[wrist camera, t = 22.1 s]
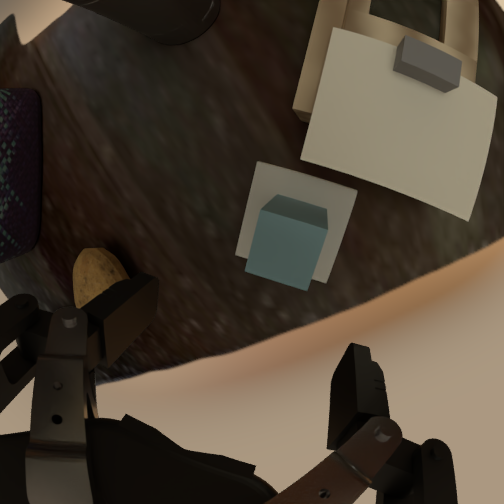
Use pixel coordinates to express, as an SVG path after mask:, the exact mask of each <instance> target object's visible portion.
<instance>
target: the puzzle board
mask: <svg viewBox="0 0 504 504" xmlns="http://www.w3.org/2000/svg"><path fill="white" fill-rule="evenodd" d="M370 3H371V0H320V1H319V5H318V9H317V13H316V17H315V21H314V25H313V29H312V33H311V37H310V40H309V44H308V48H307V52H306V56H305V60H304V64H303V68H302V72H301V76H300V80H299V84H298V88H297V92H296V96H295V100H294V104H293V108H292V109H293V110H294V112H295V113H296V114H297V116H298V117H299V119H300V120H301V121H303V122H307V123H310V120H311V116H312V112H313V108H314V104H315V100H316V96H317V92H318V88H319V84H320V80H321V76H322V72H323V68H324V64H325V60H326V55H327V51H328V47H329V43H330V39H331V34H332V30H333V27H335V28H339V29H343V30H347V31H350V32H354V33H358V34H361V35H364V36H367V37H371V38H374V39H377V40H380V41H383V42H386V43H388V44H391V45H394V46H398V45H399V43H400V42H401V41H402V39H403V38H404V36H405V35H407V36H410V37H412V38H415V39H417V40H419V41H422V42H424V43H426V44H428V45H431V46H433V47H435V48H437V49H439V50H441V51H443V52H445V53H447V54H449V55H451V56H453V57H455V58H457V59H459V60H461V61H462V67H461V76H462V77H464V78H466V79H468V80H470V81H471V82H473V83H475V78H476V68H477V55H478V35H479V8H478V0H442V7H441V23H440V34H439V41H437V40H435V39H433V38H431V37H428V36H426V35H424V34H421V33H419V32H417V31H414V30H412V29H409V28H407V27H404V26H402V25H399V24H396V23H394V22H391V21H388V20H385V19H382V18H379V17H376V16H373V15H370V14H369V9H370Z"/></svg>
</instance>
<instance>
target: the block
mask: <svg viewBox="0 0 504 504" xmlns="http://www.w3.org/2000/svg"><path fill="white" fill-rule="evenodd" d="M327 232H328V218H327V209H326V208H322V207H319V206H316V205H313V204H310V203H306V202H303V201H300V200H296V199H293V198H290V197H286V196H283V195H279V194H277V195H276V196H274V197H273V198H272V199H271V200H270V201H269V202H268V203H267V204H266V205H265V206H263V207H262V208H261V209H260V213H259V217H258V221H257V225H256V228H255V232H254V236H253V240H252V244H251V248H250V252H249V256H248V260H247V264H246V268H245V272H248V273H252V274H255V275H258V276H261V277H264V278H267V279H270V280H273V281H277V282H280V283H283V284H286V285H289V286H292V287H296V288H299V289H302V290H305V291H307V290H308V287H309V285H310V282H311V279H312V276H313V273H314V270H315V268H316V265H317V262H318V259H319V256H320V253H321V250H322V247H323V244H324V241H325V238H326V235H327Z"/></svg>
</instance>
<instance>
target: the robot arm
mask: <svg viewBox="0 0 504 504" xmlns="http://www.w3.org/2000/svg"><path fill="white" fill-rule="evenodd" d="M63 1H66V2H69V3H72V4H75V5H78V6H80V7H83V8H86V9H88V10H91V11H93V12H95V13H97V14H99V15H102V16H104V17H107V18H109V19H111V20H113V21H116V22H118V23H120V24H122V25H125V26H127V27H129V28H131V29H133V30H135V31H137V32H139V33H141V34H143V35H146V36H148V37H150V38H152V39H154V40H156V41H158V42H160V43H162V44H166V45H177V44H182V43H185V42H188V41H191V40H192V39H194V38H196V37H198V36H199V35H201V34H202V33H203V32H205V31H206V30H207V29H208V28H209V27H210V26H211V25H212V23H213V22H214V20H215V19H216V17H217V15H218V12H219V8H220V0H63ZM158 288H159V280H158V278H156V277H154V276H151V275H149V274H146V273H144V272H140V273H138V274H137V275H136V276H134V277H133V278H132V279H124V280H121V281H118V282H116V283H114V284H113V285H111V286H110V287H109V288H108V289H106V290H104V291H103V292H102V294H101V293H100V294H99V295H97V296H96V297H95V298H93V299H92V300H91V301H89V302H88V303H87V304H85V305H84V306H82V307H81V308H80V309H79V308H76V307H64V308H61V309H58V310H57V311H55V312H54V313H51V312H48V311H44V310H41V309H39V306H38V301H37V299H36V298H35V297H34V296H32V295H30V294H18V295H15V296H13V297H12V298H10V299H9V300H7V301H6V302H4V303H3V304H1V305H0V354H1V352H2V351H3V350H4V349H5V348H6V347H7V346H8V345H9V344H10V343H11V342H13V341H14V340H15V339H16V342H17V345H18V346H17V347H16V348H15V349H14V350H12V351H11V352H10V353H9V354H8V355H7V356H6V357H5V358H4V359H3V360H1V361H0V413H1V412H2V411H3V410H4V409H5V408H6V406H7V405H8V404H9V403H10V402H11V401H12V400H13V399H14V398H15V397H16V396H17V395H18V394H19V393H20V391H21V390H22V389H23V388H24V387H25V386H26V385H27V384H28V383H29V382H30V381H31V380H32V379H33V378H34V377H35V381H34V388H33V398H32V409H31V425H30V431H25V432H18V433H12V434H4V435H0V504H353V503H354V502H355V501H356V499H358V497H359V496H360V495H361V494H362V493H363V492H364V491H365V490H366V489H367V488H368V487H370V488H372V489H374V490H377V495H376V504H458V501H457V490H456V483H455V473H454V466H453V459H452V454H451V451H450V449H449V447H448V446H447V445H446V444H445V443H444V442H443V441H441V440H438V439H433V438H432V439H428V440H426V441H425V442H424V443H423V444H422V445H419V444H416V443H414V442H411V441H409V440H407V439H405V438H403V437H402V431H401V429H400V427H399V426H398V424H397V423H396V422H395V421H393V420H392V419H390V414H389V406H388V400H387V393H386V386H385V383H384V382H385V380H384V375H383V371H382V369H381V368H380V366H379V365H378V363H377V362H374V361H372V360H371V354H370V349H369V347H366V346H362V345H358V344H355V343H350V345H349V346H348V348H347V350H346V351H345V354H344V355H343V357H342V359H341V361H340V362H339V364H338V366H337V368H336V370H335V372H334V374H333V377H332V381H331V392H330V412H329V426H328V439H327V449H329V450H335V451H334V452H333V453H331V454H330V455H329V456H328V457H327V458H325V459H324V460H323V461H322V462H320V463H319V464H318V465H317V466H316V467H314V468H313V469H312V470H310V471H309V472H308V473H307V474H305V475H304V476H303V477H301V478H300V479H299V480H298V481H296V482H295V483H293V484H292V485H290V486H289V487H288V488H286V489H285V490H283V491H282V492H281V493H279V494H278V492H277V491H276V490H275V489H274V488H273V487H272V486H271V485H269V484H268V483H267V482H266V481H264V480H263V479H261V478H260V477H258V476H256V475H254V471H255V467H256V466H255V465H252V464H248V463H245V462H242V461H238V460H235V459H232V458H229V457H226V456H223V455H216V454H208V453H202V452H195V451H190V450H186V449H183V448H182V447H180V446H179V445H177V444H176V443H174V442H173V441H172V440H170V439H169V438H168V437H166V436H165V435H163V434H162V433H161V432H159V431H158V430H157V429H156V428H153V427H151V426H149V425H147V424H145V423H143V422H141V421H139V420H137V419H135V418H133V417H131V416H129V415H127V414H125V416H124V417H123V418H122V420H121V421H119V420H115V419H109V418H99V417H98V412H97V402H96V385H95V369H94V367H95V366H96V365H97V364H98V363H100V364H101V365H103V366H105V367H107V368H109V367H110V366H111V365H112V364H113V363H114V361H115V360H116V359H117V358H118V357H119V356H120V355H121V354H122V353H123V352H124V351H125V350H126V349H127V348H128V347H129V345H130V344H131V343H132V342H133V341H134V340H135V339H136V338H137V337H138V336H139V335H140V334H141V333H142V332H143V331H144V330H145V329H146V327H147V326H148V325H149V324H150V323H151V322H152V321H153V319H154V317H155V314H156V311H157V300H158Z"/></svg>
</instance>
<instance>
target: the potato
mask: <svg viewBox="0 0 504 504" xmlns="http://www.w3.org/2000/svg"><path fill="white" fill-rule="evenodd" d="M124 279H130V278H129V276H128V275H127V273H126V271H125V269H124V268H123V266H122V264H121V263H120V261H119V260H118V259H117V258H116V256H114V255H113V254H112V253H110V252H109V251H107V250H106V249H104V248H88V249H83V251H82V252H81V253H80V254H79V256H78V258H77V260H76V262H75V264H74V268H73V289H74V298H75V304H76V307H77V308H79V309H80V308H81V307H82V306H84V305H85V304H87V303H88V302H89V301H91V300H92V299H93V298H95V297H96V296H97V295H99V294H100V293H101V294H102V292H103V291H104V290H106V289H108V288H109V287H110V286H111V285H113V284H114V283H116V282H118V281H121V280H124Z"/></svg>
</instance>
